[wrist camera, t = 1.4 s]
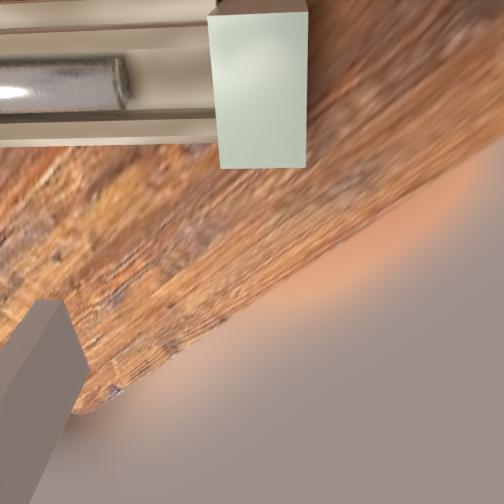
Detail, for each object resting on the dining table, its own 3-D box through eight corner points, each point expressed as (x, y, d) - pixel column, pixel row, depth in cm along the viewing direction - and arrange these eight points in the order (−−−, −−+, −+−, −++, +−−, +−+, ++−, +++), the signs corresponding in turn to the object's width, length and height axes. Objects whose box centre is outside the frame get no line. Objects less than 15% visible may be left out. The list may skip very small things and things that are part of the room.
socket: (223, -1, 32) (206, 15, 26) (304, -4, 32) (308, 11, 25) (232, 129, 37) (220, 168, 31) (303, 127, 37) (305, 167, 30)
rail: (-164, 9, 34) (-249, 24, 29) (218, -9, 32) (203, 3, 27) (-100, 142, 40) (-161, 175, 34) (229, 135, 37) (218, 169, 32)
